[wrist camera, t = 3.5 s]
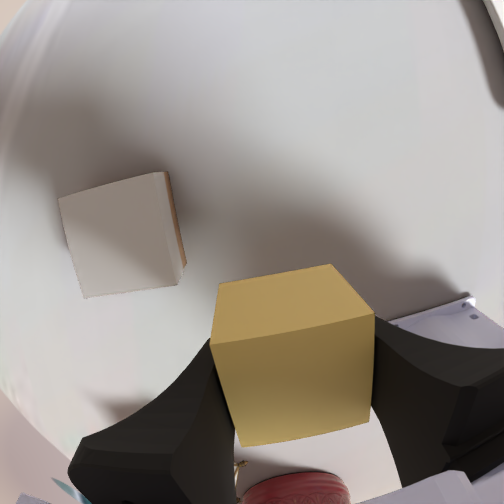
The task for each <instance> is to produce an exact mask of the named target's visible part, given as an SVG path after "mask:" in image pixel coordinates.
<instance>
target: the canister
mask: <svg viewBox="0 0 504 504" xmlns="http://www.w3.org/2000/svg"><path fill="white" fill-rule="evenodd" d="M242 504H351V503H350V494H349V491H348V488H347V487H346V486H345V485H344V482H343V481H342V479H340V478H339V477H337V476H335V475H332V474H328V473H321V472H304V473H295V474H288V475H283V476H279V477H275V478H272V479H269V480H266V481H263V482H261V483H259V484H257V485H255V486H253V487H252V488H250V489H249V490H248V491H247V492H246V493H245V494H244V496H243V502H242Z"/></svg>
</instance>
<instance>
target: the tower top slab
mask: <svg viewBox="0 0 504 504" xmlns="http://www.w3.org/2000/svg"><path fill="white" fill-rule="evenodd" d="M58 203H59V208H60V213H61V218H62V222H63V226H64V231H65V235H66V239H67V243H68V247H69V250H70V254H71V258H72V261H73V265H74V268H75V272H76V275H77V278H78V281H79V285H80V288H81V291H82V294H83V297H84V298H90V297H97V296H105V295H112V294H119V293H126V292H133V291H140V290H147V289H154V288H161V287H168V286H175V285H177V284H178V282H179V280H180V278H181V277H182V275H183V273H184V269H183V265H182V261H181V256H180V252H179V247H178V243H177V238H176V234H175V229H174V224H173V219H172V214H171V209H170V204H169V199H168V194H167V188H166V183H165V177H164V172H153V173H148V174H144V175H140V176H136V177H132V178H128V179H124V180H120V181H116V182H112V183H109V184H105V185H101V186H98V187H94V188H91V189H87V190H84V191H80V192H77V193H74V194H70V195H67V196H64V197H61V198H58Z"/></svg>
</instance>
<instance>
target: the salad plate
mask: <svg viewBox="0 0 504 504" xmlns="http://www.w3.org/2000/svg"><path fill="white" fill-rule="evenodd" d="M483 2H484V4H485V6H486V8H487V10H488V13H489V15H490V17H491V20H492V22H493V24H494V27H495V29H496V32H497V34H498V37H499V39H500V42H501V45H502V48H503V51H504V0H483Z"/></svg>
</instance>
